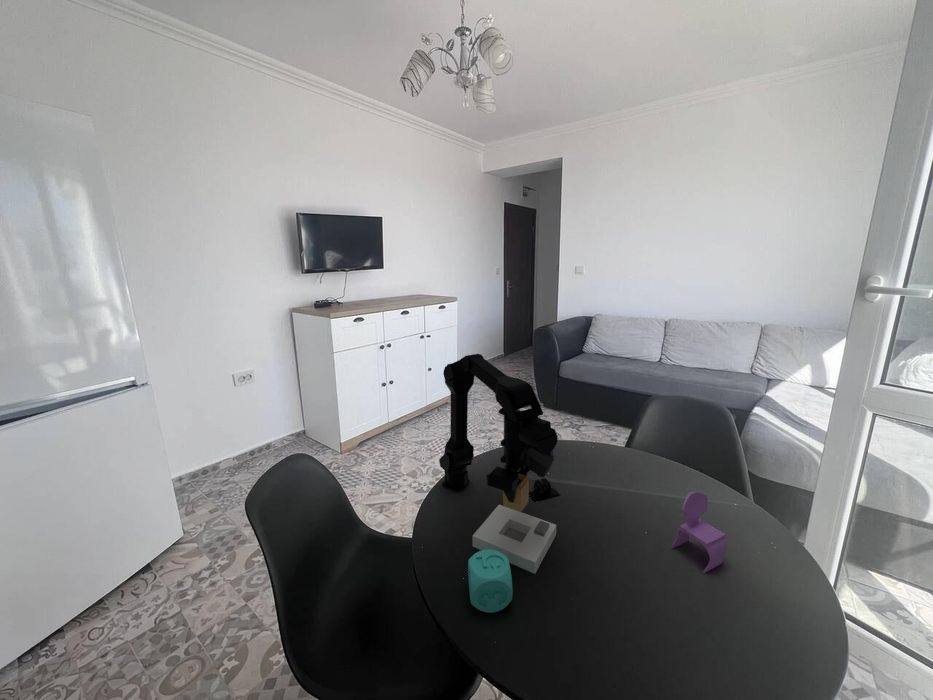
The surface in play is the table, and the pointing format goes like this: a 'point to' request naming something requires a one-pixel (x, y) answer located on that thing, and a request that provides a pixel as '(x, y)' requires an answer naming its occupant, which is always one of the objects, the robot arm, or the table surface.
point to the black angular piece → (542, 491)
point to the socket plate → (516, 537)
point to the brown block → (519, 495)
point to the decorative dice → (489, 581)
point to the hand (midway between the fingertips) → (515, 496)
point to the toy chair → (701, 529)
